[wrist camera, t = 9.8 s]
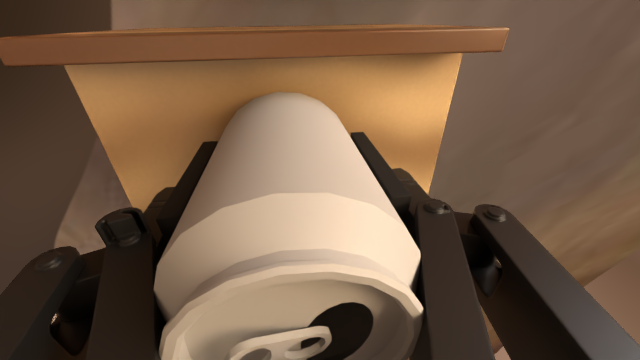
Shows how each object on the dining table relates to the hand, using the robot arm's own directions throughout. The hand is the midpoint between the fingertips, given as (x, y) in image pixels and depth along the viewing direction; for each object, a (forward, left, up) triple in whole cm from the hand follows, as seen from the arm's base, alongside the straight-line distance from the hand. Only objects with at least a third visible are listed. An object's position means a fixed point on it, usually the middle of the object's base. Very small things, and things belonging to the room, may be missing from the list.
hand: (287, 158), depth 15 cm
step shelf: (-8, 0, -13) cm, 15 cm away
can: (0, 0, -1) cm, 1 cm away
